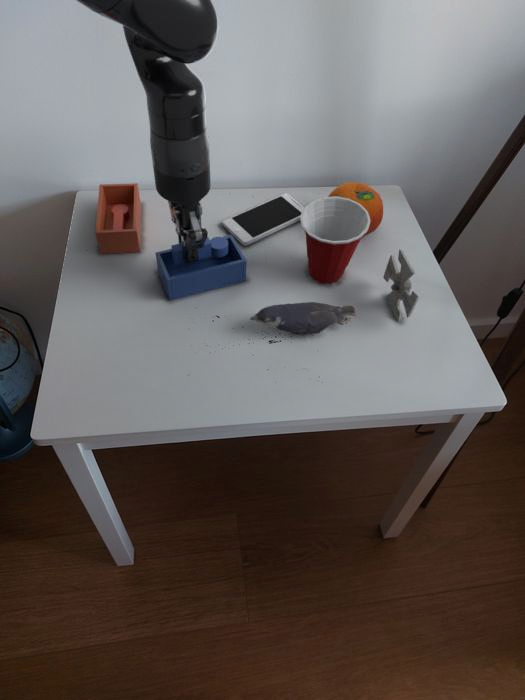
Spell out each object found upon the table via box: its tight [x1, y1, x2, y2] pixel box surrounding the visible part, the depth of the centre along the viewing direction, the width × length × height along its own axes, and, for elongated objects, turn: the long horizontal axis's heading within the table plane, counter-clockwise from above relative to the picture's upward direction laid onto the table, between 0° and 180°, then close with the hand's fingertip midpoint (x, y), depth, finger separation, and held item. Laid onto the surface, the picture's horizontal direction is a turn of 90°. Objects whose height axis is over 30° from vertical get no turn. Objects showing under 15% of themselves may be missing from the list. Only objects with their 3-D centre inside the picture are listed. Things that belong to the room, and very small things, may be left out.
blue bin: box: [155, 234, 247, 301], centre depth 84 cm, size 13×7×5 cm, turn 113°
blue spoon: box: [171, 236, 228, 265], centre depth 81 cm, size 9×3×3 cm, turn 113°
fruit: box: [327, 181, 384, 238], centre depth 92 cm, size 11×10×8 cm
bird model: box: [249, 301, 358, 336], centre depth 78 cm, size 4×17×5 cm, turn 98°
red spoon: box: [111, 204, 130, 230], centre depth 90 cm, size 9×3×3 cm, turn 8°
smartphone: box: [221, 192, 305, 247], centre depth 95 cm, size 7×15×1 cm, turn 128°
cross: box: [383, 248, 420, 322], centre depth 80 cm, size 10×3×10 cm, turn 13°
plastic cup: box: [300, 196, 371, 285], centre depth 83 cm, size 11×11×12 cm
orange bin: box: [94, 182, 142, 254], centre depth 90 cm, size 13×7×5 cm, turn 8°
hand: (189, 255), depth 81 cm, fingers closed on blue spoon, 1 cm apart
